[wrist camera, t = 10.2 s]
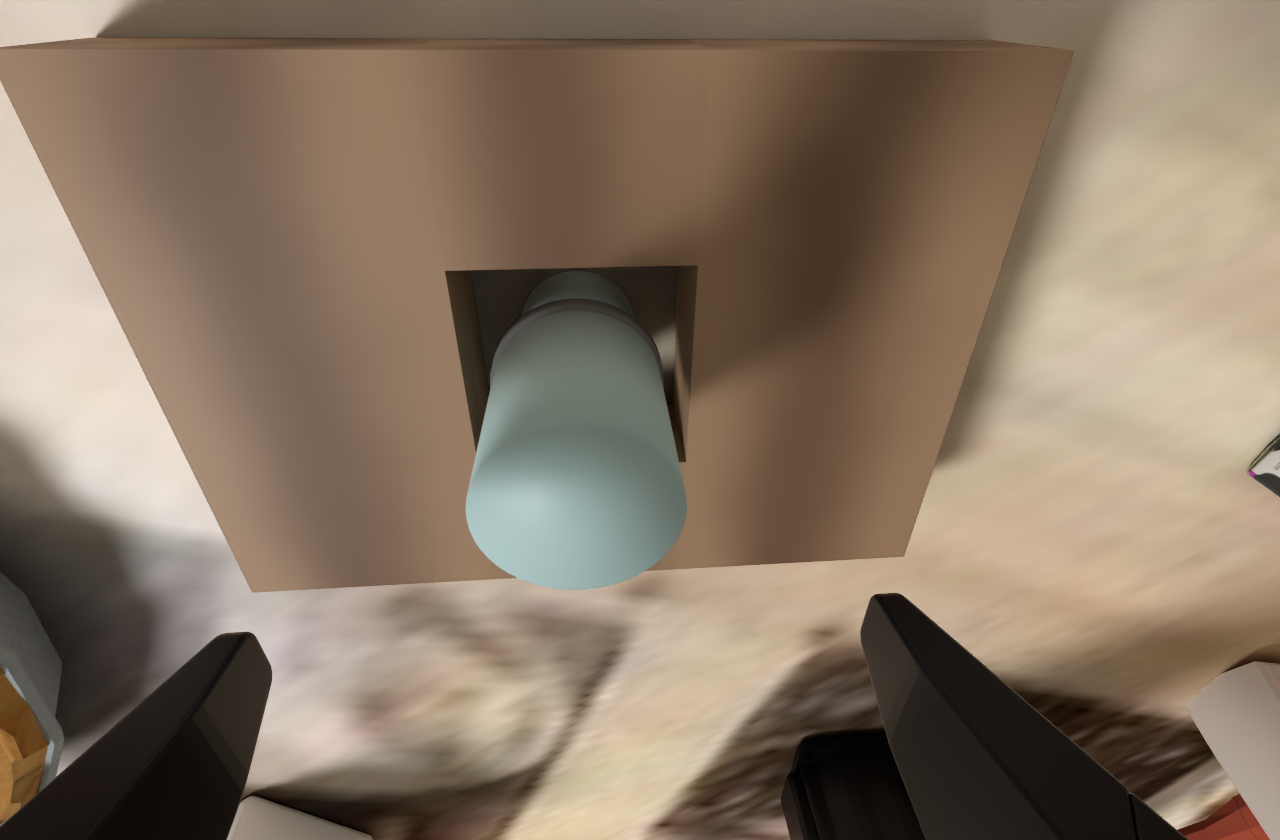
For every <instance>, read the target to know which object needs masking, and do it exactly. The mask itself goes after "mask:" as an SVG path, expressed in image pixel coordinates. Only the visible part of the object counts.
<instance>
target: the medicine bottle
mask: <svg viewBox="0 0 1280 840" xmlns="http://www.w3.org/2000/svg"><path fill="white" fill-rule="evenodd" d="M227 840H373V838H372V836H371V835H369V834H366V833H363V832H360V831H357V830H354V829H351V828H348V827H345V826H342V825H339V824H336V823H333V822H331V821H328V820H325V819H322V818H319V817H316V816H313V815H310V814H307V813H304V812H301V811H298V810H295V809H292V808H289V807H286V806H283V805H280V804H277V803H275V802H272V801H269V800H266V799H263V798H260V797H257V796H250V797H248V798H246V799H244V800H243V801H242V802H240V804H239V807H238V810H237V813H236V816H235V818H234V821H233V824H232V827H231V829H230V832H229V835H228V838H227Z"/></svg>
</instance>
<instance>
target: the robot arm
mask: <svg viewBox="0 0 1280 840" xmlns="http://www.w3.org/2000/svg"><path fill="white" fill-rule="evenodd" d="M861 643H862V647H863V651H864V655H865V658H866V662H867V666H868V669H869V673H870V677H871V680H872V684H873V688H874V691H875V695H876V699H877V702H878V706H879V710H880V713H881V717H882V721H883V724H884V728H885V731H886V735H877V736H864V737H851V738H837V739H824V740H811V741H804V742H802V743H800V744H799V745H798V747H797V750H796V754H795V757H794V761H793V765H792V769H791V772H790V773H789V774H788V776H787V778H786V782H785V786H784V789H783V793H782V797H781V803H782V807H783V811H784V815H785V819H786V823H787V827H788V831H789V835H790V839H791V840H1188V839H1187V838H1186V837H1185V836H1183V835H1182V834H1181V833H1180V832H1179V831H1177V830H1176V829H1175V828H1174V827H1173V826H1171V825H1170V824H1169V823H1168V822H1167V821H1165V820H1164V819H1163V818H1162V817H1161V816H1159V815H1158V814H1157V813H1156V812H1155V811H1154V810H1153V809H1151V808H1150V807H1149V806H1148V805H1147V804H1146V803H1144V802H1143V801H1142V800H1141V799H1140V798H1139V797H1137V796H1136V795H1135V794H1133V793H1128V789H1127V788H1126V787H1125V786H1124V785H1123V784H1122V783H1121V782H1120V781H1118V780H1117V779H1116V778H1115V777H1114V776H1113V775H1111V774H1110V773H1109V772H1108V771H1107V770H1106V769H1105V768H1103V767H1102V766H1101V765H1100V764H1099V763H1098V762H1096V761H1095V760H1094V759H1093V758H1092V757H1091V756H1089V755H1088V754H1087V753H1086V752H1085V751H1084V750H1082V749H1081V748H1080V747H1079V746H1078V745H1077V744H1075V743H1074V742H1073V741H1072V740H1071V739H1070V738H1068V737H1067V736H1066V735H1065V734H1064V733H1063V732H1061V731H1060V730H1059V729H1058V728H1057V727H1056V726H1055V725H1053V724H1052V723H1051V722H1050V721H1049V720H1048V719H1046V718H1045V717H1044V716H1043V715H1042V714H1041V713H1039V712H1038V711H1037V710H1036V709H1035V708H1034V707H1032V706H1031V705H1030V704H1029V703H1028V702H1027V701H1025V700H1024V699H1023V698H1022V697H1021V696H1020V695H1018V694H1017V693H1016V692H1015V691H1014V690H1013V689H1011V688H1010V687H1009V686H1008V685H1007V684H1006V683H1004V682H1003V681H1002V680H1001V679H1000V678H999V677H998V676H996V675H995V674H994V673H993V672H992V671H991V670H989V669H988V668H987V667H986V666H985V665H984V664H982V663H981V662H980V661H979V660H978V659H977V658H975V657H974V656H973V655H972V654H971V653H970V652H968V651H967V650H966V649H965V648H964V647H963V646H961V645H960V644H959V643H958V642H957V641H956V640H954V639H953V638H952V637H951V636H950V635H949V634H948V633H946V632H945V631H944V630H943V629H942V628H941V627H939V626H938V625H937V624H936V623H935V622H934V621H932V620H931V619H930V618H929V617H928V616H927V615H925V614H924V613H923V612H922V611H921V610H920V609H918V608H917V607H916V606H915V605H914V604H913V603H911V602H910V601H909V600H908V599H907V598H906V597H904V596H903V595H901V594H898V593H887V594H875V595H874V596H872V597H871V599H870V601H869V604H868V607H867V611H866V614H865V617H864V620H863V623H862V626H861ZM271 682H272V669H271V665H270V663H269V661H268V659H267V657H266V655H265V653H264V651H263V649H262V648H261V646H260V644H259V642H258V640H257V638H256V636H255V635H254V634H252V633H250V632H236V633H225V634H221V635H219V636H217V637H215V638H214V639H213V640H211V641H210V642H209V643H208V644H207V645H206V646H205V647H204V648H202V649H201V650H200V651H199V652H198V653H197V654H196V655H194V656H193V657H192V658H191V659H190V660H189V661H188V662H186V663H185V664H184V665H183V666H182V667H181V668H180V669H179V670H177V671H176V672H175V673H174V674H173V675H172V676H171V677H169V678H168V679H167V680H166V681H165V682H164V683H163V684H161V685H160V686H159V687H158V688H157V689H156V690H155V691H154V692H152V693H151V694H150V695H149V696H148V697H147V698H146V699H144V700H143V701H142V702H141V703H140V704H139V705H138V706H136V707H135V708H134V709H133V710H132V711H131V712H130V713H129V714H127V715H126V716H125V717H124V718H123V719H122V720H121V721H119V722H118V723H117V724H116V725H115V726H114V727H113V728H111V729H110V730H109V731H108V732H107V733H106V734H105V735H104V736H102V737H101V738H100V739H99V740H98V741H97V742H96V743H94V744H93V745H92V746H91V747H90V748H89V749H88V750H86V751H85V752H84V753H83V754H82V755H81V756H80V757H79V758H77V759H76V760H75V761H74V762H73V763H72V764H71V765H69V766H68V767H67V768H66V769H65V770H64V771H63V772H61V773H60V774H59V775H58V776H57V777H56V778H55V779H54V780H52V781H51V782H50V783H49V784H48V785H47V786H46V787H44V788H43V789H42V790H41V791H40V792H39V793H38V794H36V795H35V796H34V797H33V798H32V799H31V800H30V801H29V802H27V803H26V804H25V805H24V806H23V807H22V808H21V809H19V810H18V811H17V812H16V813H15V814H14V815H13V816H11V817H10V818H9V819H8V820H7V821H6V822H5V823H4V824H2V825H1V826H0V840H227V838H228V835H229V832H230V829H231V827H232V824H233V821H234V818H235V816H236V813H237V810H238V807H239V804H240V801H241V798H242V795H243V792H244V789H245V785H246V781H247V778H248V774H249V770H250V766H251V762H252V758H253V754H254V750H255V746H256V742H257V738H258V734H259V730H260V726H261V722H262V718H263V714H264V710H265V706H266V702H267V698H268V694H269V690H270V686H271Z"/></svg>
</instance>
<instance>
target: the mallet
mask: <svg viewBox="0 0 1280 840" xmlns="http://www.w3.org/2000/svg"><path fill="white" fill-rule="evenodd" d="M1185 704H1186V708H1187V710H1188V712H1189V713H1190V715H1191V717H1192V719H1193V721H1194V722H1195V724H1196V726H1197V727H1198V729H1199V731H1200V732H1201V734H1202V736H1203V737H1204V739H1205V740H1206V742H1207V744H1208V745H1209V747H1210V749H1211V750H1212V752H1213V754H1214V755H1215V757H1216V758H1217V760H1218V762H1219V763H1220V765H1221V766H1222V768H1223V769H1224V771H1225V772H1226V774H1227V775H1228V777H1229V778H1230V780H1231V781H1232V783H1233V784H1234V786H1235V787H1236V789H1237V790H1238V792H1239V793H1240V794H1238V795H1237V796H1234V797H1233V798H1231V800H1230V801H1229V802H1228V803H1226V804H1225V805H1224V806H1222V807H1221V808H1220V809H1219V810H1217V811H1216V812H1215V813H1214V814H1212V815H1211V816H1210V817H1209V818H1207V819H1206V820H1204V821H1201V822H1198V823H1195V824H1192V825H1190V826H1187V827H1184V828H1181V829H1178V830H1177V831H1179V832H1180V833H1181V834H1182V835H1183V836H1185V837H1186V838H1187V839H1188V840H1280V664H1278V663H1267V662H1257V661H1254V662H1251V663H1249V664H1246V665H1243V666H1241V667H1238V668H1235V669H1233V670H1230V671H1227V672H1224V673H1222V674H1220V675H1219V676H1217V677H1216V678H1215V679H1214V680H1213V681H1211V682H1210V683H1209V684H1208V685H1207V686H1206V687H1204V688H1203V689H1202V690H1201V691H1200V692H1198V693H1197V694H1196V695H1195V696H1194V697H1193V698H1191V699H1190V700H1189V701H1188V702H1187V703H1185Z"/></svg>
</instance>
